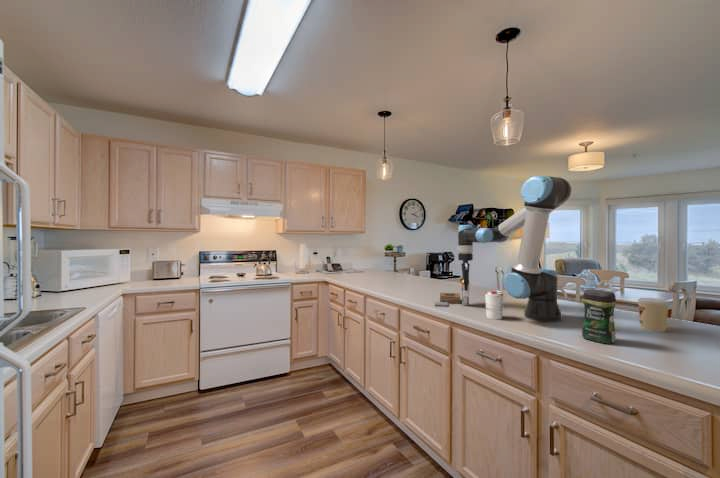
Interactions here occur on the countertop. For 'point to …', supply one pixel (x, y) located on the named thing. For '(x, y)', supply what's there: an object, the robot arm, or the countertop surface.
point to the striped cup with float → (494, 304)
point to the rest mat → (441, 304)
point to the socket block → (450, 298)
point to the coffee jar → (599, 316)
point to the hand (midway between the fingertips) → (465, 295)
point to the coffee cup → (653, 314)
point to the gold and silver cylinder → (464, 298)
